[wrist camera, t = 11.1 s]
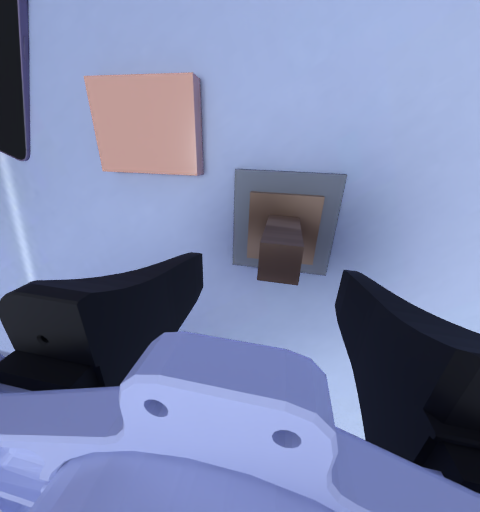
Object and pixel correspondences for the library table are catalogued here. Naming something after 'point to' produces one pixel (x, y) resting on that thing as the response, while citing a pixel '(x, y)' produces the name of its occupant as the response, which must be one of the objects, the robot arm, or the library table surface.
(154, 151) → the tile
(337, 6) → the library table surface
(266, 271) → the stamp
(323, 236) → the mat
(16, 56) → the smartphone
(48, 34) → the library table surface
